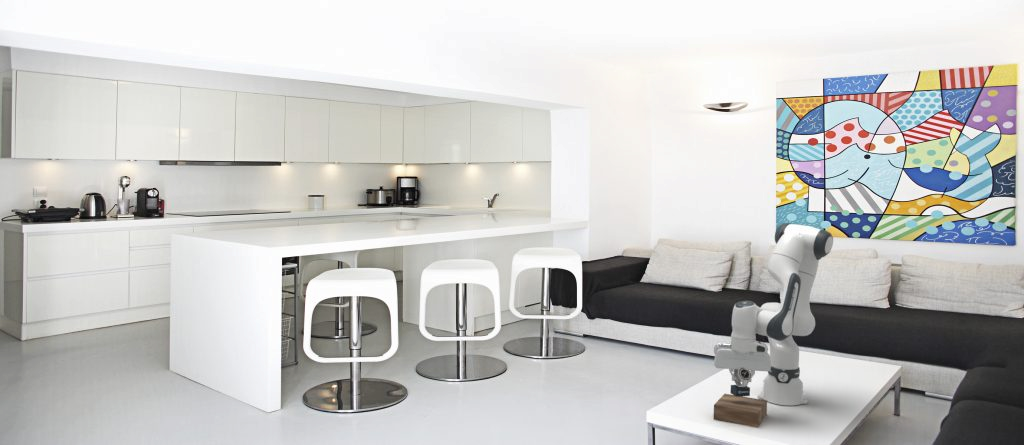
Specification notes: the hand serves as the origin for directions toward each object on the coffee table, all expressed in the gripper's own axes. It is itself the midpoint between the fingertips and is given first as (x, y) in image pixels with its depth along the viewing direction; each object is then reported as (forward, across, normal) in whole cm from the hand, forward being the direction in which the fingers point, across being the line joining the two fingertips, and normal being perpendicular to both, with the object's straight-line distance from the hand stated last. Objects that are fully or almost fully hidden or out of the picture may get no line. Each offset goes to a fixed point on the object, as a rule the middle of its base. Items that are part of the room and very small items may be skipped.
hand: (741, 381), depth 272 cm
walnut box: (+14, 0, 0) cm, 14 cm away
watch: (+5, 0, 0) cm, 5 cm away
